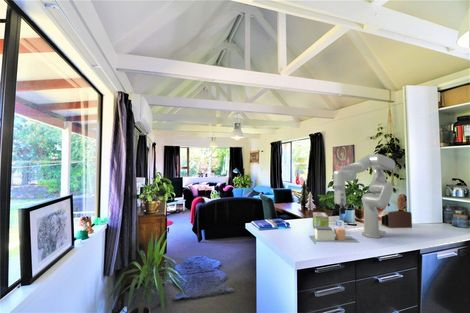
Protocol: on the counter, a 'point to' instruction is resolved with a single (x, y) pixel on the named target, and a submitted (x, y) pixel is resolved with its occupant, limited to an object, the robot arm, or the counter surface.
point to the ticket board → (347, 240)
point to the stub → (340, 233)
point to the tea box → (320, 219)
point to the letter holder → (397, 219)
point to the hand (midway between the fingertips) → (339, 212)
